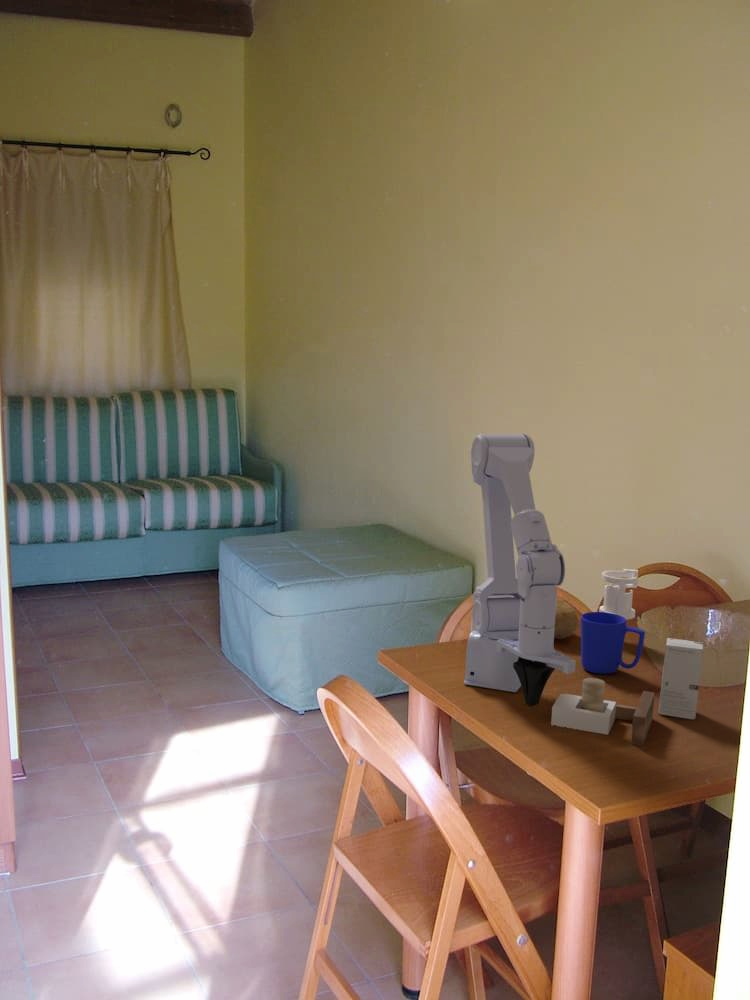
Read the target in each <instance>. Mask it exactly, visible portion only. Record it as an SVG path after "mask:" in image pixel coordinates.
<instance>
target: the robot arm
mask: <svg viewBox="0 0 750 1000" xmlns="http://www.w3.org/2000/svg"><path fill="white" fill-rule="evenodd" d="M470 460H471V461H470V462H471V475H472V480H473V481H472V482H474V483H475V484H477V485H478V486H480V489H481V499H482V509H483V524H484V541H485V553H486V555H485V556H486V566H487V570H486V571H487V579H486V580H485V581H484V582H483V583H482V584H480V585H479V586H477V587H478V588H477V587H476V589H475V591H474V592H473V596H472V598H473V601H472V602H473V603H472V610H471V620H472V619H473V624H474V627H475V629H476V630H477V631H472V632H471V631H470V633H469V636H468V639H467V644H466V654H465V673H464V674H465V676H464V681H463V684H464V685H468V686H473V687H474V686H475V687H480V688H487V689H492V690H499V691H505V692H510V693H511V692H512V693H517V692H518V691H519V689H520V688H521V690H522V694H523V698H524V699H523V700H524V704H525V705H526V706H529V707H535V706H538V705H539V704H540V701H541V698H542V695H543V692H544V689H545V687H546V686H547V685H546V684H547V682H548V680H549V679H550V677H551V675H552V674H553V672H554V671H555V669H556V670H559V671H562V673H564V674H566V675H569V674H572V673H575V672H576V665H577V664H576V662H577V660H576V659H573V658H571V657H568V656H566V655H565V654H562V653H561V652H559V651H557V650H555V647H554V646H555V644H554V643H555V638H554V630H555V615H556V600H557V596H558V587H559V586H561V585H562V584H563V583H564V581H565V576H566V563H565V560H564V555H563V553H562V551H560V550H559V549H558V547H557V545H556V544H553V542H552V539H551V535H550V532H549V529H548V525H547V522H546V518H545V514H544V513H543V512H541V511H539V510H537V509H536V506H535V499H534V498H535V497H534V493H533V488H532V487H533V486H532V483H531V482H532V481H531V477H530V472H531V470H532V467H533V463H534V461H535V444H534V441H533V439H532V437H531V436H530V435H529V434H528V433H522V434H484V433H478V434H477V435H476V436H475V437H474V438H473V440H472V445H471V449H470ZM512 512H513V517H512ZM514 544H515V547H516V552H517V555H518V556H517V560H516V563H515V550H514V549H515V548H514ZM499 595H511V597H505V598H488V597H489V596H499Z"/></svg>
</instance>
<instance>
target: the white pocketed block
mask: <svg viewBox="0 0 750 1000" xmlns="http://www.w3.org/2000/svg"><path fill="white" fill-rule="evenodd" d="M581 704H582V695H581V696H580V695H574V694H569V693H561V692H560V694H559V696H558V697H557V698H556V701H555V702H554V704H553V705H552V707H551V721H550V725H551V726H554V725H556V726H555V727H560V728H565V727H566V728H567V729H571V728H572V730H577V729H578V731H585V732H590V733H596V734H601V735H609V733H610V731H611V730H612V727H613V725H614V722H615V720H616V718H615V712H616V704H617V701H613V700H612V701H611V700H605V699H604V701H603V713H602V712H596V711H589V710H583V709H581Z"/></svg>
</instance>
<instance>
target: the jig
mask: <svg viewBox="0 0 750 1000" xmlns="http://www.w3.org/2000/svg"><path fill="white" fill-rule="evenodd" d="M655 694H656V693H655V692H652V691H646V690H643V691H642V693H641V696H640V698H639V700H638V703H637V706H630V705H624V704H618V703H616V712H615V719H621V720H625V721H626V720H627V721H632V727H631V728H632V729H631V742H630V744H632V745H635V746H636V745H637V746H643V747H644V744H645V741H646V738H647V736H648V733H649V730H650V727H651V724H652V722H653V715H654V704H655Z"/></svg>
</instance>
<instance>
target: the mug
mask: <svg viewBox="0 0 750 1000" xmlns="http://www.w3.org/2000/svg"><path fill="white" fill-rule="evenodd" d="M628 632H631V633H635V634H638V635H639V638H638V639H639V640H638V644H637V651H636V654H635V658H634V659H633V662H632V663H630V664H629V663H626V662H624V661H623V650H624V644H625V643H624V642H625V638H626V634H627V633H628ZM645 636H646V632H645V630H643V629H640V628H638V627H632V626H628V625H627V620H626V619H625V618H624V617H622V616H620V615H617V614H612V613H606V612H599V611H590V612H586V613H585V612H584V613H583V614H581V615H580V655H581V656H580V657H581V658H580V660H581V666H582V667H583V669H584V670H586V671H588V672H590V673H593V674H597V675H598V674H599V675H609V674H614V673H615V672H617V671H618V669H619V667H622V668H624V669H632V668H635V667H636V666H637V664H638V663H639V661H640V659H641V655H642V652H643V647H644V642H645Z"/></svg>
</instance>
